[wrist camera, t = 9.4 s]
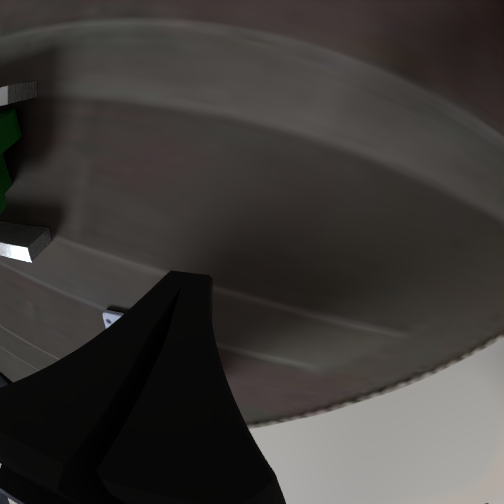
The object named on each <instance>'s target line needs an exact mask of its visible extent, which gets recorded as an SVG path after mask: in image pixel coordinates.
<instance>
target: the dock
mask: <svg viewBox="0 0 504 504" xmlns="http://www.w3.org/2000/svg"><path fill="white" fill-rule="evenodd" d="M36 97H37V81H31V82H25V83H19V84H13V85H8V86H4V87H1V88H0V106H2V105H6V104H10V103H14V102H18V101H22V100H27V99H31V98H36ZM51 242H52V239H51V234H50V230H49V228H45V227H38V226H30V225H23V224H15V223H8V222H1V221H0V255H2V256H6V257H10V258H15V259H19V260H23V261H28V262H32V261H33V260H34V259H35V258H36V257H37V256H38V255H39V254H40V253H41V252H42V251H43V250H44V249H45V248H46V247H47V246H48V245H49V244H50V243H51Z"/></svg>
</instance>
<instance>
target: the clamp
mask: <svg viewBox="0 0 504 504" xmlns="http://www.w3.org/2000/svg"><path fill="white" fill-rule="evenodd" d="M21 136H22V133H21V130H20V126H19V122H18V118H17V114H16V110H15V108H12V109H8V110H5V111H1V112H0V214H1V213H2V212H3V210H4V209H5V208H6V206H7V200H6V196H5V193H6V191H7V190H8V189H9V188H10V187H11V186H12V182H11V178H10V175H9V173H8V170H7V167H6V164H5V161H4V159H3V156H2V153H3V152H4V151H6V150H7V149H8V148H9V147H10V146H11V145H13V144H14V143H15V142H16V141H17V140H18V139H19V138H20V137H21Z"/></svg>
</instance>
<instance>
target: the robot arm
mask: <svg viewBox="0 0 504 504" xmlns="http://www.w3.org/2000/svg"><path fill="white" fill-rule="evenodd" d="M212 283H213V279H212V278H211V277H210V276H209V275H203V274H194V273H186V272H178V271H170V272H169V273H168V274H166V275H165V276H164V277H163V278H162V279H161V280H160V281H159V282H158V283H157V284H156V285H155V286H154V287H153V288H152V289H151V290H150V291H149V292H148V293H147V294H146V295H145V296H143V297H142V298H141V299H140V300H139V301H138V302H137V303H136V304H135V305H134V306H132V307H131V308H130V309H129V310H128V311H127V312H126V313H125V314H124V313H119V312H115V311H110V310H105V311H104V313H103V319H104V322H105V326H106V329H105V330H104V331H103V332H101V333H100V334H99V335H97V336H96V337H95V338H93V339H92V340H90V341H89V342H88V343H86V344H85V345H83V346H82V347H80V348H79V349H77V350H76V351H74V352H72V353H70V354H69V355H67V356H65V357H64V358H62V359H60V360H59V361H57V362H55V363H54V364H52V365H50V366H48V367H46V368H44V369H42V370H40V371H38V372H36V373H34V374H32V375H30V376H28V377H25V378H23V379H21V380H19V381H16V382H14V383H11V384H8V385H6V386H3V387H0V463H1V464H2V465H1V468H0V504H9V501H8V498H9V499H11V500H13V501H14V502H16V503H17V504H286V502H285V499H284V496H283V493H282V491H281V488H280V486H279V483H278V480H277V477H276V475H275V473H274V471H273V470H272V468H271V467H270V465H269V464H268V462H267V461H266V460H265V458H264V456H263V454H262V452H261V451H260V449H259V447H258V446H257V444H256V442H255V440H254V439H253V437H252V435H251V433H250V431H249V429H248V427H247V425H246V423H245V421H244V419H243V417H242V415H241V413H240V410H239V408H238V406H237V404H236V402H235V399H234V397H233V395H232V392H231V390H230V387H229V384H228V382H227V379H226V376H225V373H224V370H223V367H222V364H221V361H220V357H219V354H218V350H217V346H216V341H215V337H214V332H213V327H212ZM7 497H8V498H7ZM486 504H488V503H486Z"/></svg>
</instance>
